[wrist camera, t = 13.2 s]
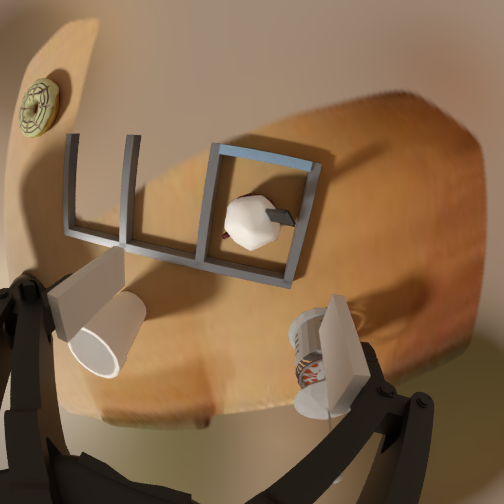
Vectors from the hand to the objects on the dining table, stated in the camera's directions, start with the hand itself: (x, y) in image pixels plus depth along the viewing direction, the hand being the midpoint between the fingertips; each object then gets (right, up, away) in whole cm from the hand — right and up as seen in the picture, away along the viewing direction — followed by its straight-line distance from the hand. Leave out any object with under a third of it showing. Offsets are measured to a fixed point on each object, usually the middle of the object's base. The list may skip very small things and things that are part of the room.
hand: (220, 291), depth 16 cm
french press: (+13, -11, +25) cm, 30 cm away
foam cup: (-19, -7, +27) cm, 34 cm away
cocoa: (+3, +7, +19) cm, 21 cm away
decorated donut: (-34, +28, +16) cm, 47 cm away
